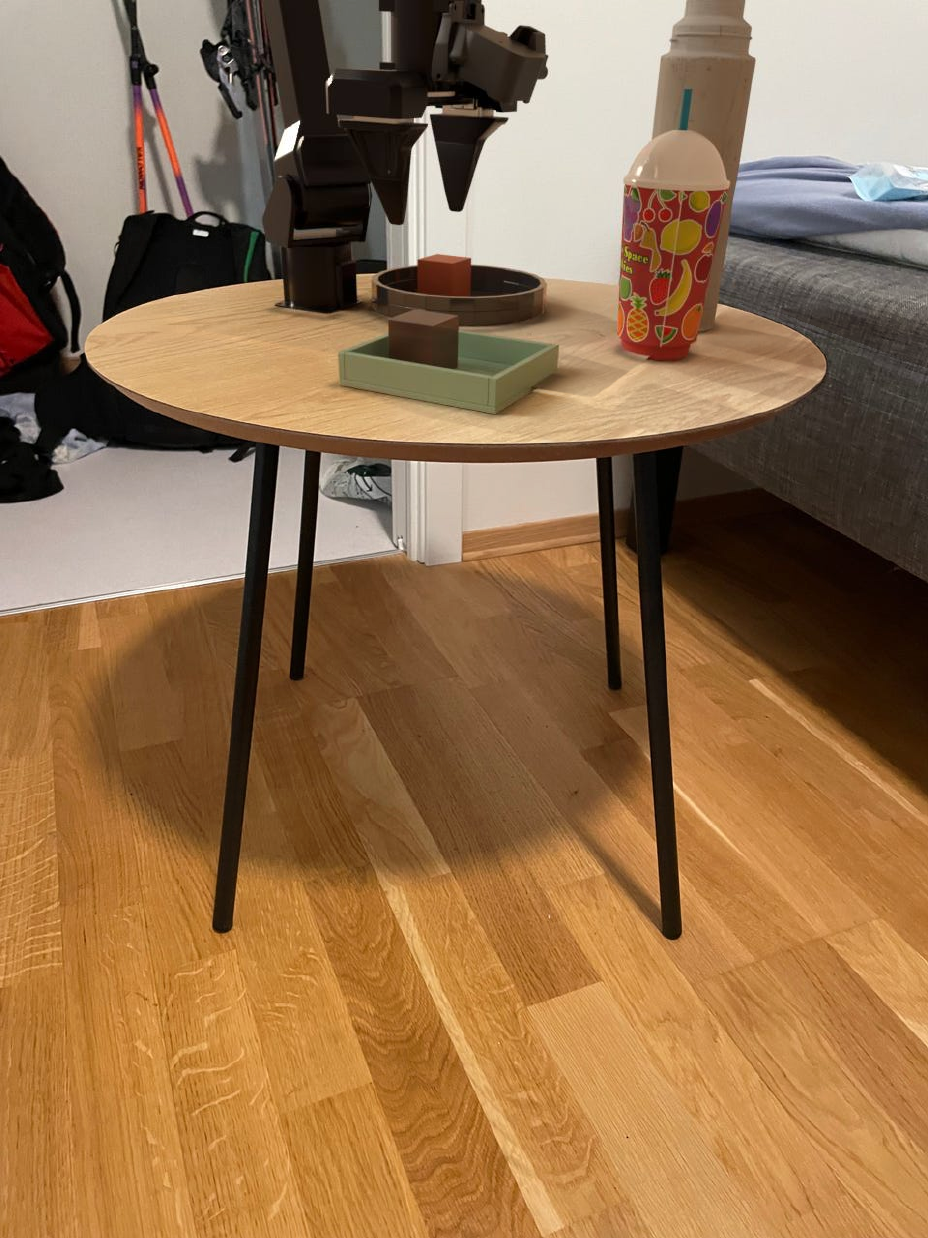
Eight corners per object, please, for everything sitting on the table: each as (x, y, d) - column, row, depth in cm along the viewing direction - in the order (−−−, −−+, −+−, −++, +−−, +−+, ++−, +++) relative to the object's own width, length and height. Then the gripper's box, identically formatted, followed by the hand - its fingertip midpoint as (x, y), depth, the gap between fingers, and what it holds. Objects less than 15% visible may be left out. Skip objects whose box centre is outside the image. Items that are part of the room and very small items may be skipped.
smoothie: (597, 340, 84) (622, 86, 74) (687, 340, 85) (723, 89, 75) (618, 365, 77) (648, 88, 67) (716, 365, 78) (760, 91, 68)
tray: (339, 385, 71) (337, 351, 69) (413, 352, 79) (413, 322, 78) (495, 414, 66) (496, 379, 64) (557, 376, 74) (559, 344, 73)
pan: (338, 315, 90) (337, 283, 89) (426, 286, 104) (426, 258, 102) (498, 340, 84) (499, 305, 82) (570, 305, 97) (572, 275, 95)
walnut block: (388, 371, 72) (387, 318, 70) (414, 359, 75) (414, 308, 73) (433, 379, 71) (433, 325, 69) (458, 367, 74) (459, 315, 72)
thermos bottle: (704, 314, 95) (754, -19, 80) (722, 333, 88) (780, -27, 74) (626, 312, 95) (662, -21, 80) (637, 331, 88) (679, -30, 74)
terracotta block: (417, 300, 95) (417, 259, 93) (436, 294, 98) (436, 253, 96) (452, 305, 93) (452, 263, 91) (470, 298, 96) (471, 257, 94)
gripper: (468, -33, 56) (459, 245, 64) (586, -11, 70) (567, 214, 78) (316, -33, 60) (326, 227, 68) (457, -12, 74) (451, 201, 82)
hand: (427, 217), depth 74 cm, fingers open, 9 cm apart
